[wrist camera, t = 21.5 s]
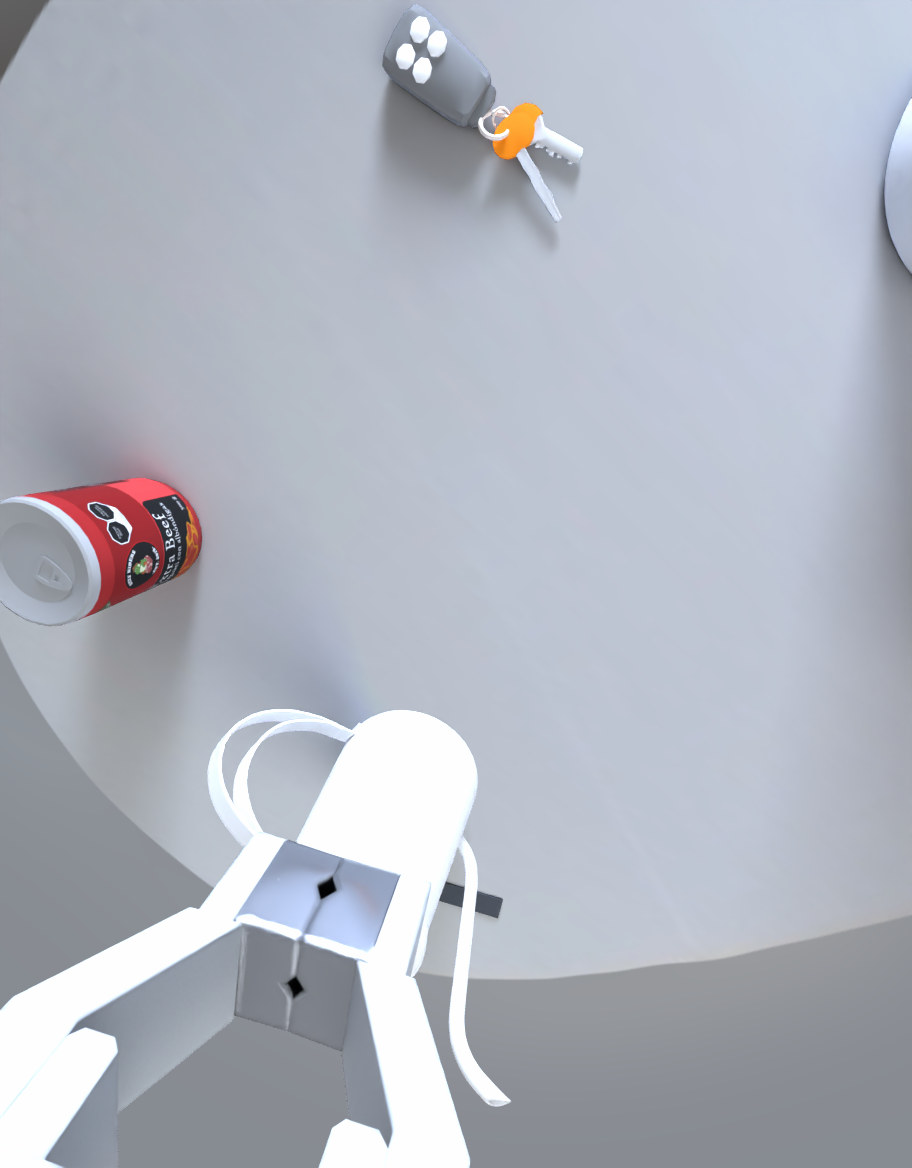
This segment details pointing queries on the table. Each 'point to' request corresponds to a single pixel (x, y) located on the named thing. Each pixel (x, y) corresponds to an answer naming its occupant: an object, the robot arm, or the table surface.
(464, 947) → the coffeepot
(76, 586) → the canned food
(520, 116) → the key chain
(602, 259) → the table surface
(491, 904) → the tape line
